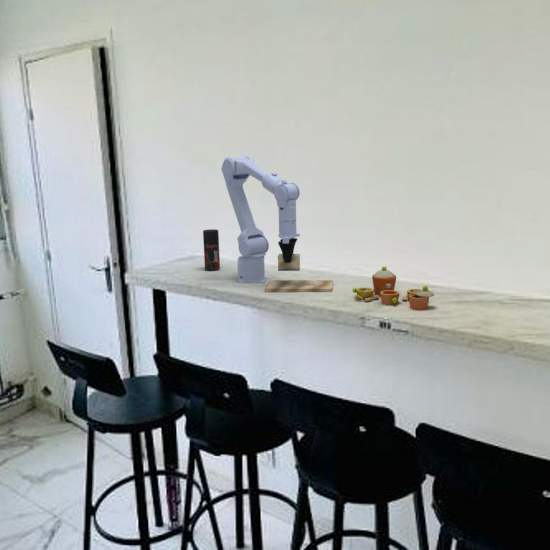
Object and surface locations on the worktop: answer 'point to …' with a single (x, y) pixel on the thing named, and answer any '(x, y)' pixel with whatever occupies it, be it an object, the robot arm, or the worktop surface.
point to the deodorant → (211, 249)
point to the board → (299, 286)
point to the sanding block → (289, 266)
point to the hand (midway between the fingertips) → (288, 261)
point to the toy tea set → (392, 291)
